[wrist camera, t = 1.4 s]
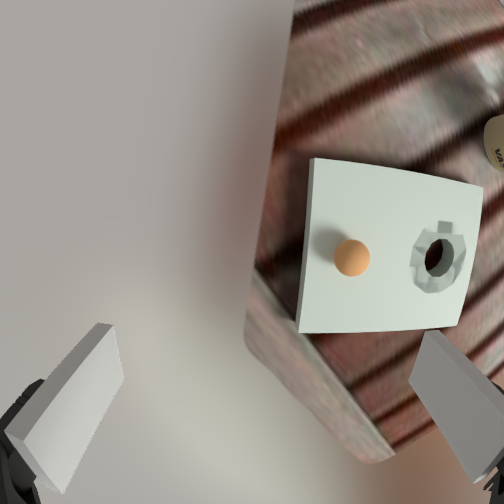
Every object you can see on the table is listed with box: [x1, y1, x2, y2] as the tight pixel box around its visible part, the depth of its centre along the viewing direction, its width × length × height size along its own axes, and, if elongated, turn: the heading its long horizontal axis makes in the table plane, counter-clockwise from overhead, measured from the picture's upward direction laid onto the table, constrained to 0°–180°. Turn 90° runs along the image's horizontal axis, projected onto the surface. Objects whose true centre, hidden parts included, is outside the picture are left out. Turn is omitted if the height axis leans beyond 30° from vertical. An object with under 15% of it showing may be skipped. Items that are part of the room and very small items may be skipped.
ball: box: [334, 239, 370, 277], centre depth 27 cm, size 4×4×4 cm
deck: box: [295, 158, 483, 333], centre depth 30 cm, size 22×18×2 cm
